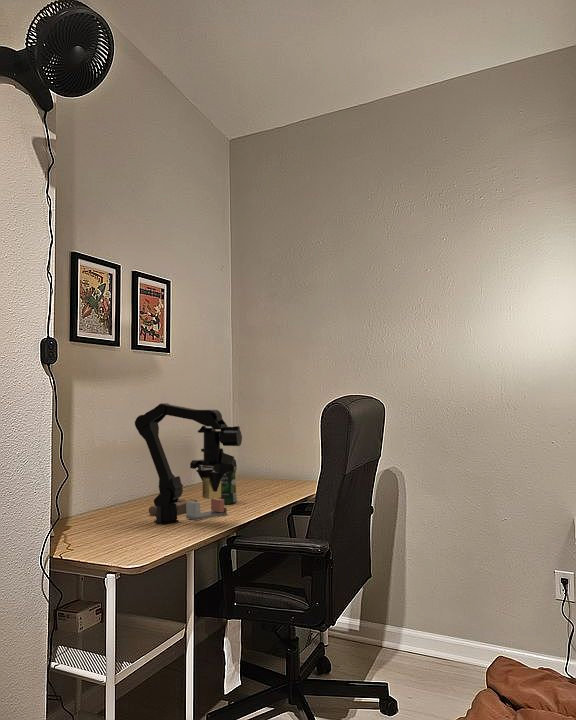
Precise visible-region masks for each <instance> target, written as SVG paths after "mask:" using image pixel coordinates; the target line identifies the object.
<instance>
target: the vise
mask: <svg viewBox="0 0 576 720" xmlns="http://www.w3.org/2000/svg"><path fill="white" fill-rule="evenodd" d="M227 512H228V507H224V512H216V511H211V510H209V511H203V512H201V502H199V501H197V502H195V501H186V513H185V518H186V519H188V518H190V519H189V520H192V519H194V520H193V521H198V520H197V519H200V520H204V519H203V518H206V519H210V518H209V517H212V518H215V517H214V516H218V517H221V516H220V515H223V516H227V515H228V513H227Z"/></svg>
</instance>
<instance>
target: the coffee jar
mask: <svg viewBox="0 0 576 720" xmlns="http://www.w3.org/2000/svg"><path fill="white" fill-rule="evenodd" d="M233 465H234V471H232V472H227V473H225V474H224V475H223V476H222V478H221V498H218V499H223V500H224V505H230V504H231V505H233V503H234V504H235V503H236V502H237V501H238V500H237V499H238V497H237V487H236V486H237V485H236V473H237V469H238V466H237V460H236V459H235V458H234V460H233Z"/></svg>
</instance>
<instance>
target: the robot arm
mask: <svg viewBox="0 0 576 720" xmlns="http://www.w3.org/2000/svg"><path fill="white" fill-rule="evenodd" d="M166 416H168V417H169V416H170V417H176V418H180V419H185V420H186V419H187V420H190V421H191V420H192V421H194V422H196V423H198V424H200V425H202V426H201V427H200V428H199V429H198V430H197V433H199V434H200V433H203V448H200V452H201V453H203V459H194V460H191V461H190V463H189V465H190V469H193V470H195V471H196V473H197V474H198V476H199V477H200V480H201V481H202V483H203V477H210V478H211V482H212V487H213V490H214V492H217V490H218V487H219V484H220V481H221V478H222V476H223V475H224V474H225V473H227V472H232V471H234V465H233V460H234V459H235V456H233V455H230V454H227V453H225V452H224V449H223V448H221V444H222V445H223V446H224V447H240V446H241V445H242V443H243V434H242V432H241V429H240V428H241V427H240V426H238V425H236V426H228V424H227V422H226V421H224V418H223V415H222V413H221V411H220V410H218V409H197V408H190V407H185V406H180V405H179V406H178V405H174V404H169V403H163V402H161V403H159V404H158V405H156V406H155V407H154V408H152V409H150V410H149V411H147V412H145V413H144V414H140V415H138V416H137V417H136V418H135V420H134V426H135V428H136V430H137V432H138V434H139V435H140V436H141V437H142V439H144V441H145V443H146V445H147V448H148V450H149V454H150V456H151V459H152V461H153V464H154V468H155V470H156V473H157V476H158V490H159V494H158V495H157V496H155V498H154V499H153V505H155V506H156V515H155V517H156V519H154V520H153V522H154V523H158V524H161V525H167V524H171V523H178V522H179V520H180V519H179V520H178V515H177V507H176V503H177V501H178V499H180V498H181V497H182V494H183V492H184V491H183V490H184V489H183V488H184V485H183V483H182V481H181V477H180V475H178V476H175V475H174V474H173V473H172V470H171V467H170V465H169V461H168V457H167V455H166V453H165V451H164V448H163V445H162V442H161V439H160V438H159V434H160V433H159V432H160V428H159V427H160V426H159V424H160V423H161V422H162V421H163V420H164V419H165V417H166Z"/></svg>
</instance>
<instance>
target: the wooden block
mask: <svg viewBox="0 0 576 720" xmlns="http://www.w3.org/2000/svg"><path fill="white" fill-rule="evenodd" d="M186 501H195V502H198V501H197V499H184V498H179V499H178V501H177V503H176V507H177V516H180V515H183V514H186V513H185V512H186ZM148 513H149V515H151V516H156V506H155V504H153V505H150V507H149V508H148ZM179 514H180V515H179Z"/></svg>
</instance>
